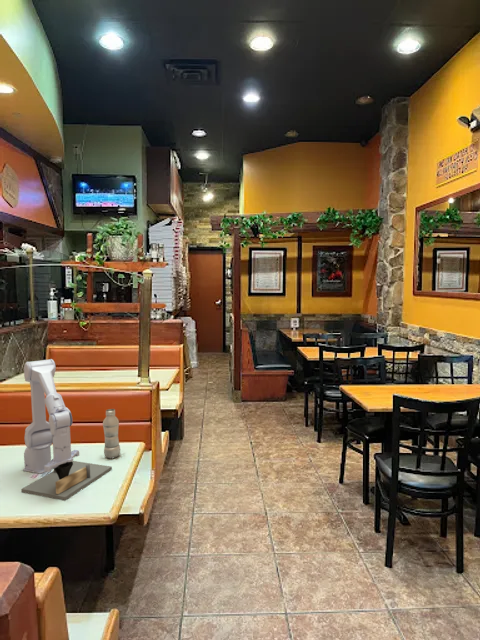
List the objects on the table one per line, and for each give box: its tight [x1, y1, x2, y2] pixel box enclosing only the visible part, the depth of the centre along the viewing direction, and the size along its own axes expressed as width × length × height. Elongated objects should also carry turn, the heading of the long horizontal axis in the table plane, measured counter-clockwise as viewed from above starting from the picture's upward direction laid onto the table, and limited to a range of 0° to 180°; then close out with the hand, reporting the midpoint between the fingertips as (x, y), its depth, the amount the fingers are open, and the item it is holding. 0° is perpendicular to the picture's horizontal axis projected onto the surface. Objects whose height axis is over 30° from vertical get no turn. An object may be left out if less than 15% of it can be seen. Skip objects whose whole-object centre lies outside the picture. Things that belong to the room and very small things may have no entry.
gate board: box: [20, 460, 113, 501], centre depth 154 cm, size 19×25×6 cm
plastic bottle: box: [102, 408, 121, 459], centre depth 174 cm, size 6×7×20 cm
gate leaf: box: [56, 467, 87, 494], centre depth 147 cm, size 13×1×4 cm, turn 155°
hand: (63, 483), depth 146 cm, fingers closed, pressing on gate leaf
